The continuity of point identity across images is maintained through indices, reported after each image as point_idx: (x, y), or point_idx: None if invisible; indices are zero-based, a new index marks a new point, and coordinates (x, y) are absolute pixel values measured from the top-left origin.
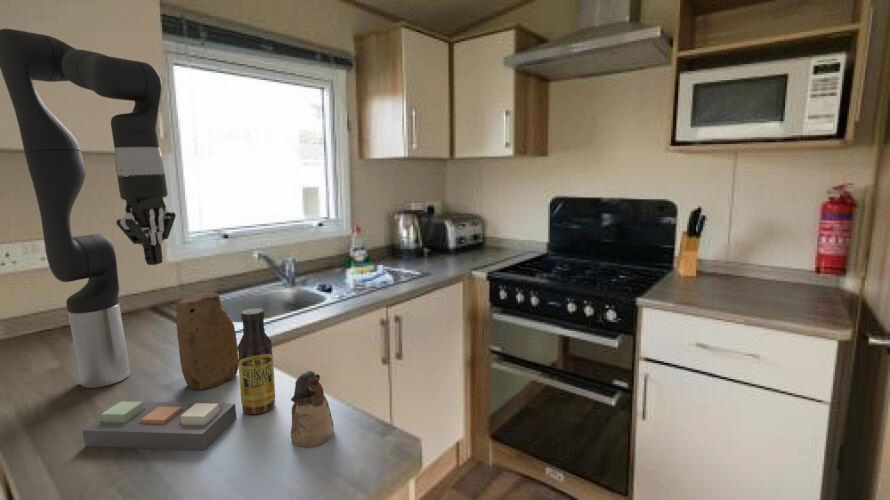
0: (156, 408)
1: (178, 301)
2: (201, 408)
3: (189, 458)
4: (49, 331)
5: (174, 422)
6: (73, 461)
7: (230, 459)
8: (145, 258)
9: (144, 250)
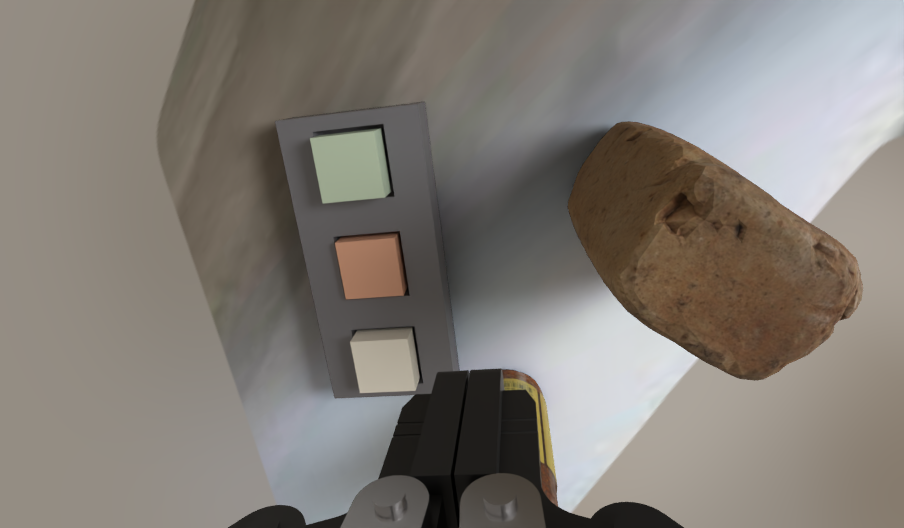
0: (385, 239)
1: (694, 200)
2: (388, 366)
3: (317, 367)
4: None
5: (356, 314)
6: (245, 146)
7: (334, 436)
8: (402, 418)
9: (384, 471)
